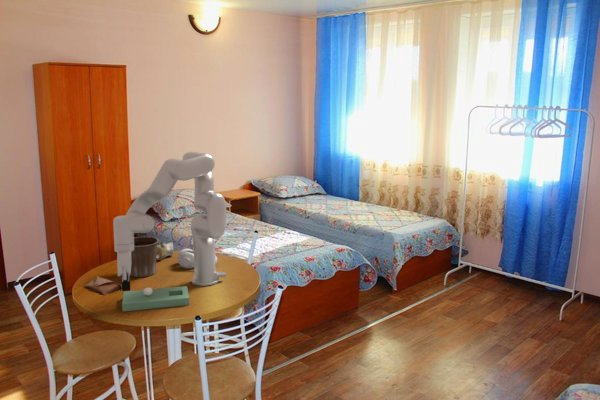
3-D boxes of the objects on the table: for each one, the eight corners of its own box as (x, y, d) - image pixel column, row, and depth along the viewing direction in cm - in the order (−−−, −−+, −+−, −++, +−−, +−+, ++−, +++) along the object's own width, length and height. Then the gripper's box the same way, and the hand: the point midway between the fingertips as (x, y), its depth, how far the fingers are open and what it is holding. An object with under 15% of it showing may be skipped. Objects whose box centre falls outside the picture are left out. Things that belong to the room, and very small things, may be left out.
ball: (152, 293, 218) (152, 285, 218) (152, 296, 215) (152, 288, 214) (144, 294, 217) (143, 286, 217) (143, 297, 214) (143, 289, 213)
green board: (187, 292, 228) (186, 286, 227) (189, 304, 214) (189, 297, 214) (124, 298, 221) (123, 291, 220) (122, 311, 208) (121, 304, 207)
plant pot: (154, 279, 244) (152, 246, 241) (120, 279, 244) (117, 245, 241) (164, 268, 260) (162, 236, 257) (131, 267, 260) (129, 236, 257)
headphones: (177, 271, 254) (218, 273, 260) (179, 255, 253) (220, 257, 258) (176, 259, 271) (214, 261, 277) (177, 245, 270) (216, 247, 276)
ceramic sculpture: (178, 240, 277) (154, 248, 266) (180, 256, 279) (156, 264, 268) (165, 237, 283) (142, 245, 272) (167, 252, 286) (144, 260, 274)
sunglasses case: (81, 286, 234) (87, 272, 236) (94, 290, 240) (99, 276, 241) (105, 295, 224) (111, 280, 225) (118, 299, 229) (123, 284, 231)
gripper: (115, 242, 216) (117, 284, 219) (113, 252, 202) (115, 297, 205) (134, 241, 218) (136, 283, 221) (133, 251, 204) (135, 296, 207)
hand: (126, 290), depth 213 cm, fingers closed
